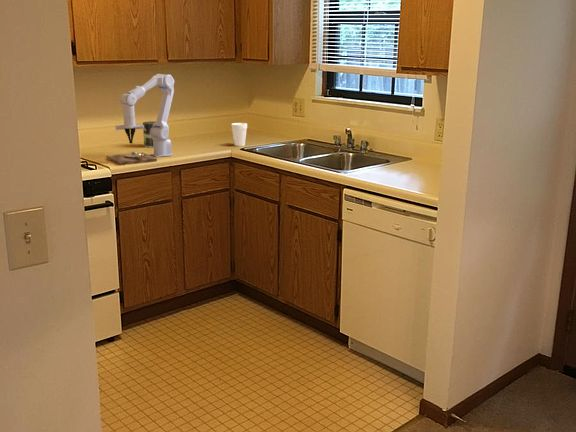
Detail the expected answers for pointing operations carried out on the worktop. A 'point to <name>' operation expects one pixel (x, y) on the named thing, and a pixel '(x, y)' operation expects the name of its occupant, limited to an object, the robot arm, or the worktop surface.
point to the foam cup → (239, 133)
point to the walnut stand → (131, 159)
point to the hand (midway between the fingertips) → (130, 143)
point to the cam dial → (134, 155)
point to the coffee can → (148, 134)
